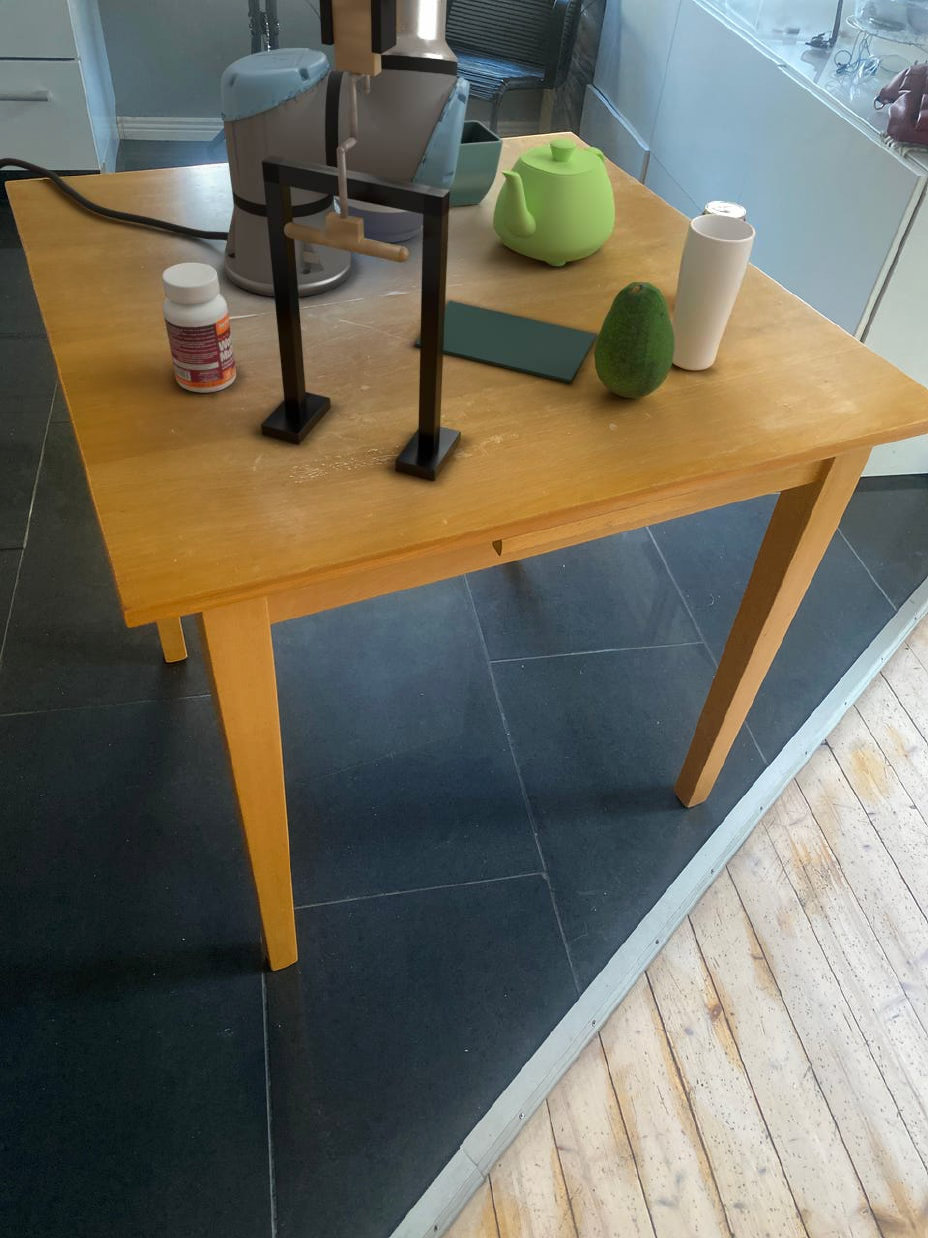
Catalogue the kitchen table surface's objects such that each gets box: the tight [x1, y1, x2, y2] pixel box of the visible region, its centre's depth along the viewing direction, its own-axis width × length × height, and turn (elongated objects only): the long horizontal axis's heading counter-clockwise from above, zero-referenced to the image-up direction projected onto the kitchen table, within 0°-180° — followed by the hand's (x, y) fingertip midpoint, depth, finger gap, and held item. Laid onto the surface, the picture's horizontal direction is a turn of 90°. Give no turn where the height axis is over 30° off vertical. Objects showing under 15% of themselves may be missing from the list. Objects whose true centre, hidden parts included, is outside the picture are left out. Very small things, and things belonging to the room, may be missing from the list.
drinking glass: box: [671, 214, 756, 371], centre depth 101 cm, size 7×7×15 cm
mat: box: [414, 300, 598, 384], centre depth 107 cm, size 18×11×1 cm, turn 70°
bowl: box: [334, 196, 423, 244], centre depth 124 cm, size 14×14×8 cm
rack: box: [260, 155, 462, 482], centre depth 84 cm, size 18×7×25 cm, turn 70°
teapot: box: [492, 138, 616, 267], centre depth 120 cm, size 22×15×13 cm
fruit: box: [593, 281, 675, 400], centre depth 96 cm, size 8×8×12 cm
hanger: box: [284, 0, 410, 264], centre depth 70 cm, size 11×6×20 cm, turn 69°
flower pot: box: [448, 119, 504, 207], centre depth 131 cm, size 9×9×9 cm
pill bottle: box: [161, 262, 237, 394], centre depth 94 cm, size 6×6×11 cm
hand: (359, 43), depth 68 cm, fingers closed on hanger, 3 cm apart
